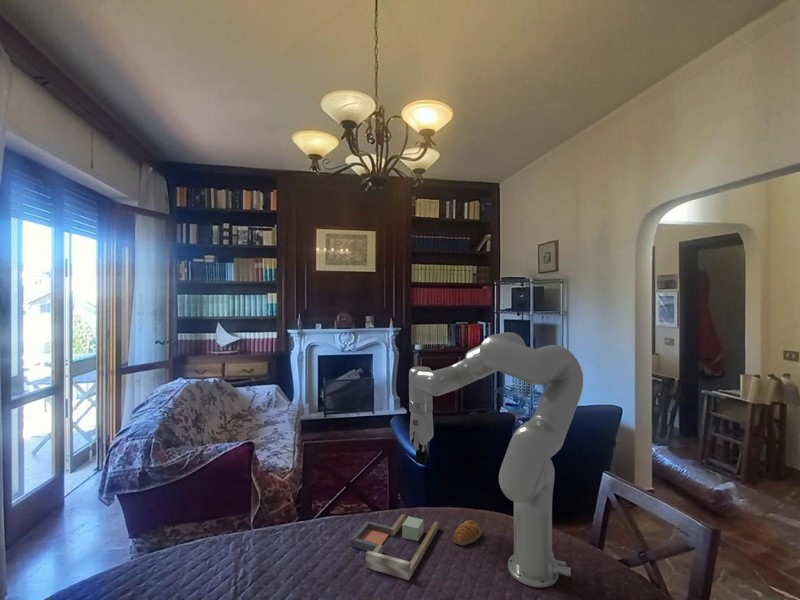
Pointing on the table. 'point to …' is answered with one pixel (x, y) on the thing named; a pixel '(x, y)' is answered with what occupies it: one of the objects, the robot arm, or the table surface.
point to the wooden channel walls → (394, 564)
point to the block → (412, 528)
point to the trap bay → (370, 536)
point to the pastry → (467, 533)
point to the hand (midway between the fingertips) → (421, 462)
